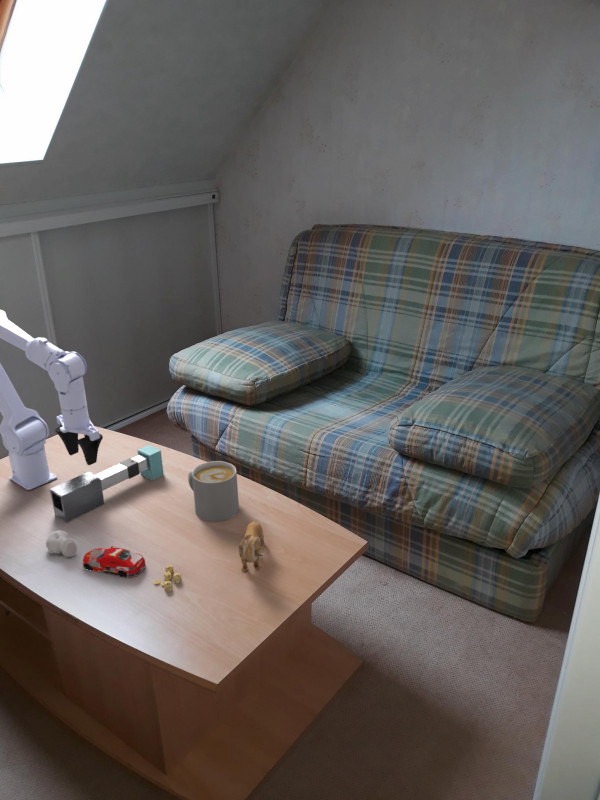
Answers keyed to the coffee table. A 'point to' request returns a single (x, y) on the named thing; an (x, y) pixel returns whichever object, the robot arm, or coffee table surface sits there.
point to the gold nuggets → (168, 576)
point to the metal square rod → (123, 471)
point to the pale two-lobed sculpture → (61, 544)
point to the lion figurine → (252, 546)
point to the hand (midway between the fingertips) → (82, 458)
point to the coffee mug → (215, 490)
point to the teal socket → (152, 462)
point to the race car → (114, 561)
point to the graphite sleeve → (77, 496)
